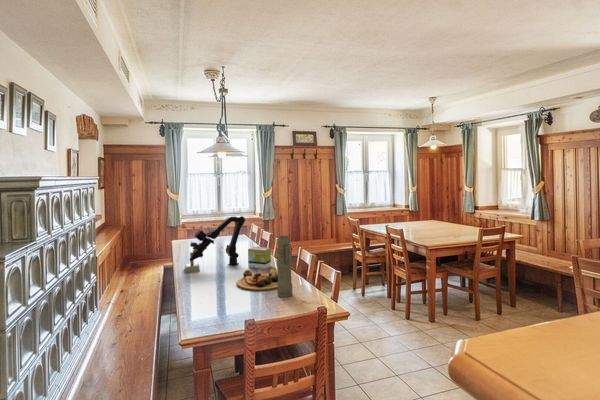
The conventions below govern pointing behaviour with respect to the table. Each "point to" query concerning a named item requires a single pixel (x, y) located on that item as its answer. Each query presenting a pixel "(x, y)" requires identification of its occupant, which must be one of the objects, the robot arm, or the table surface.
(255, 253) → the tea box
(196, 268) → the box
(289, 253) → the grey-green tall block
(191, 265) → the cover plate
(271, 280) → the wooden plate with food
